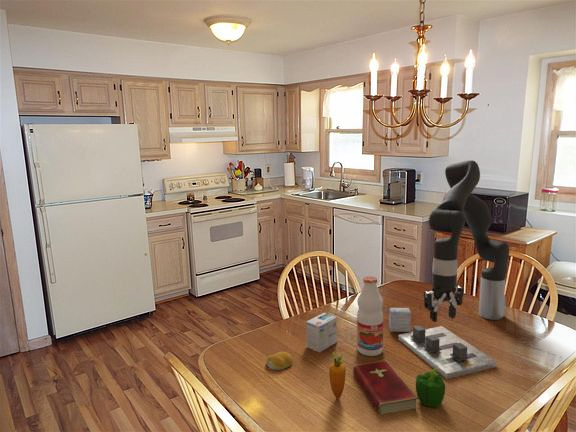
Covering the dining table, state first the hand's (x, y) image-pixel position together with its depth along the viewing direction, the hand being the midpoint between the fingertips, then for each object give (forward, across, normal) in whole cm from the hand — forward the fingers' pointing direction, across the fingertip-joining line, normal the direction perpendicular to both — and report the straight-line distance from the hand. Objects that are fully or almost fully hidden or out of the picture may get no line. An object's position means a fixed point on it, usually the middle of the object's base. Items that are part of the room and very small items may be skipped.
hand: (442, 319), depth 135 cm
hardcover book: (+18, +24, +4) cm, 31 cm away
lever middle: (+15, -3, -8) cm, 17 cm away
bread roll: (+18, +50, -22) cm, 58 cm away
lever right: (+15, -3, -16) cm, 22 cm away
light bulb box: (+18, +32, -29) cm, 46 cm away
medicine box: (+18, -2, -29) cm, 34 cm away
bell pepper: (+18, +14, +14) cm, 27 cm away
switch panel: (+18, -8, -8) cm, 21 cm away
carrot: (+18, +39, +3) cm, 43 cm away
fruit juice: (+18, +16, -19) cm, 31 cm away
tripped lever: (+15, -8, 0) cm, 17 cm away
